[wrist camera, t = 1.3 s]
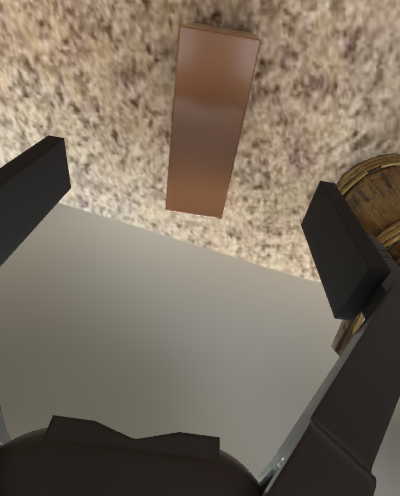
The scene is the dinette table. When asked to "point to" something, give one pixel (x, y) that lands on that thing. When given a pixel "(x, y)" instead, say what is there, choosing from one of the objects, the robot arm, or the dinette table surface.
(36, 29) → the dinette table surface
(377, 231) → the wooden mug
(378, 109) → the dinette table surface
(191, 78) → the eraser
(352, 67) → the dinette table surface
